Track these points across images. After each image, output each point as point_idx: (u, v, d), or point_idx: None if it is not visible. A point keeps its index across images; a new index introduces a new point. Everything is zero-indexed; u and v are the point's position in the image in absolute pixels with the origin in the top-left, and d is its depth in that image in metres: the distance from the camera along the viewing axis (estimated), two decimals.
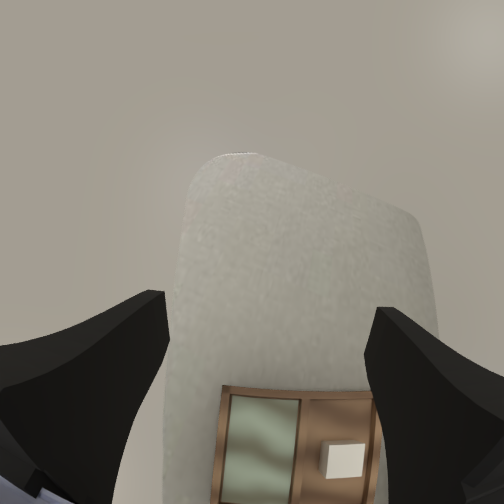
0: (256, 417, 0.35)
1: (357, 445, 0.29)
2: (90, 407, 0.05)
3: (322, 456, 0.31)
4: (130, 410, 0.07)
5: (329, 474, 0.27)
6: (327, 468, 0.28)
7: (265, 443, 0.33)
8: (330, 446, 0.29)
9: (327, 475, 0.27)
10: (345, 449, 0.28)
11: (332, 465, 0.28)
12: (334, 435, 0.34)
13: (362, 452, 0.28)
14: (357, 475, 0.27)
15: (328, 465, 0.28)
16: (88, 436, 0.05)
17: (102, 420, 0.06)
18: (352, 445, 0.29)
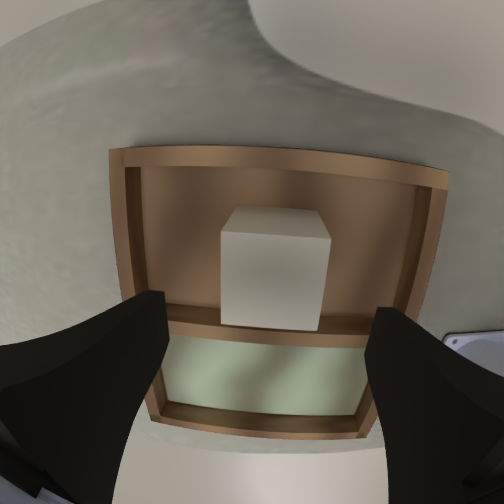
0: (195, 378, 0.22)
1: (225, 254, 0.13)
2: (90, 407, 0.05)
3: None
4: (130, 410, 0.07)
5: (306, 323, 0.13)
6: (287, 327, 0.14)
7: (242, 369, 0.21)
8: (224, 321, 0.14)
9: (308, 327, 0.13)
10: (236, 287, 0.13)
11: (279, 318, 0.13)
12: None
13: (249, 238, 0.12)
14: (325, 251, 0.12)
15: (278, 326, 0.14)
16: (88, 436, 0.05)
17: (102, 420, 0.06)
18: (224, 268, 0.13)
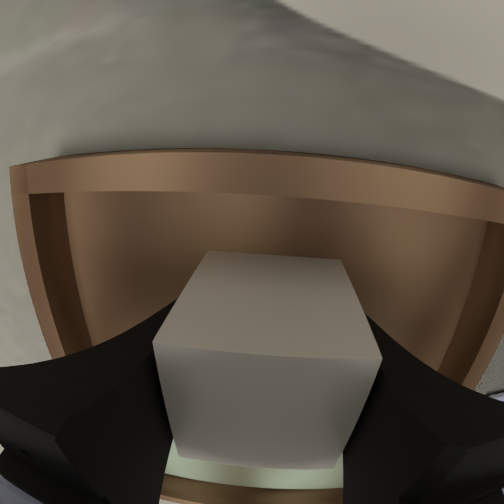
0: (169, 453, 0.15)
1: (167, 378, 0.06)
2: (143, 422, 0.05)
3: None
4: None
5: (316, 463, 0.07)
6: (286, 466, 0.07)
7: None
8: (183, 455, 0.07)
9: (319, 467, 0.07)
10: (195, 423, 0.06)
11: (273, 459, 0.07)
12: None
13: (211, 358, 0.05)
14: (366, 379, 0.05)
15: (271, 466, 0.07)
16: (141, 453, 0.05)
17: (152, 434, 0.06)
18: (169, 397, 0.06)
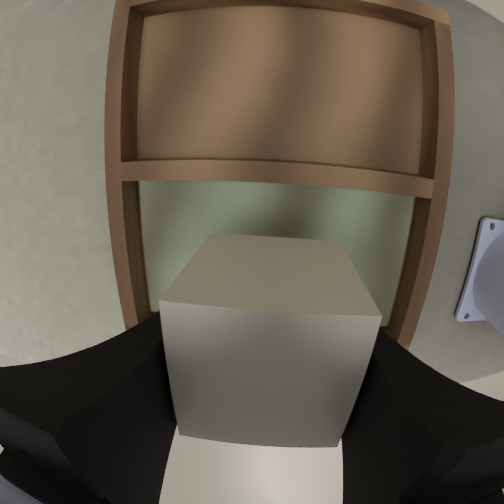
0: None
1: (171, 341, 0.06)
2: (143, 422, 0.05)
3: None
4: (173, 420, 0.07)
5: (320, 440, 0.07)
6: (289, 443, 0.07)
7: None
8: (184, 432, 0.07)
9: (322, 444, 0.07)
10: (197, 393, 0.07)
11: (275, 435, 0.07)
12: (226, 85, 0.14)
13: (216, 317, 0.06)
14: (368, 339, 0.06)
15: (274, 443, 0.07)
16: (141, 453, 0.05)
17: (152, 434, 0.06)
18: (172, 363, 0.06)
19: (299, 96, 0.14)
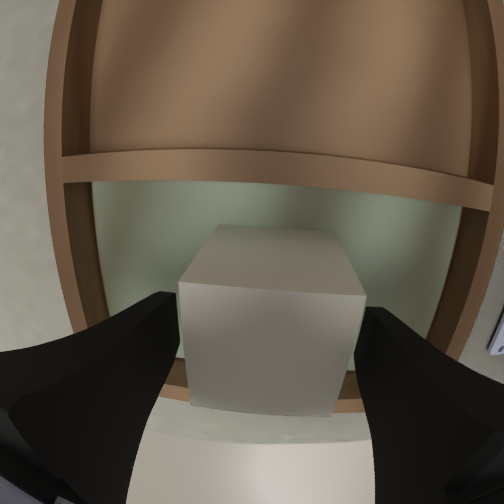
0: None
1: (188, 317, 0.07)
2: (105, 412, 0.05)
3: None
4: (142, 414, 0.07)
5: (315, 409, 0.08)
6: (288, 412, 0.08)
7: None
8: (195, 403, 0.09)
9: (318, 413, 0.08)
10: (208, 364, 0.08)
11: (276, 403, 0.08)
12: (207, 47, 0.09)
13: (227, 295, 0.07)
14: (355, 315, 0.07)
15: (275, 412, 0.08)
16: (103, 441, 0.05)
17: (116, 424, 0.06)
18: (187, 337, 0.08)
19: (310, 62, 0.09)
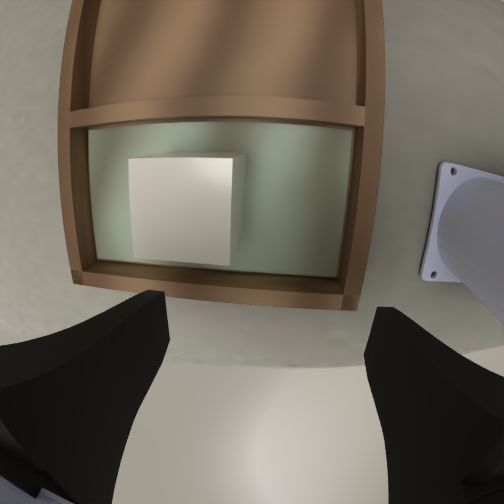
0: (125, 211, 0.18)
1: (132, 181, 0.12)
2: (90, 407, 0.05)
3: None
4: (130, 410, 0.07)
5: (216, 256, 0.13)
6: (198, 261, 0.13)
7: None
8: (136, 255, 0.13)
9: (219, 261, 0.13)
10: (144, 215, 0.12)
11: (188, 250, 0.13)
12: (164, 41, 0.14)
13: (153, 163, 0.12)
14: (227, 172, 0.11)
15: (188, 259, 0.13)
16: (88, 436, 0.05)
17: (102, 420, 0.06)
18: (132, 196, 0.12)
19: (228, 43, 0.14)
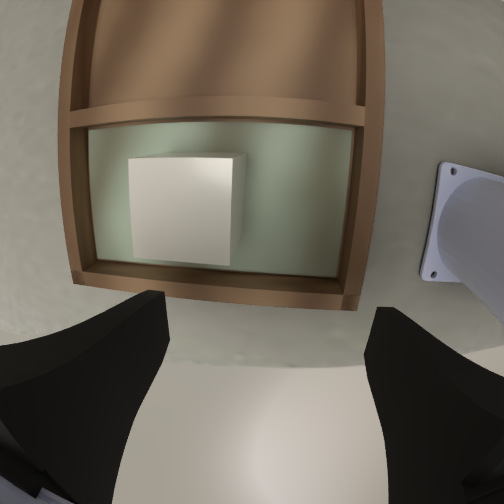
0: (125, 211, 0.18)
1: (132, 181, 0.12)
2: (90, 407, 0.05)
3: None
4: (130, 410, 0.07)
5: (216, 256, 0.13)
6: (198, 261, 0.13)
7: None
8: (136, 255, 0.13)
9: (219, 261, 0.13)
10: (144, 215, 0.12)
11: (188, 250, 0.13)
12: (164, 41, 0.14)
13: (153, 163, 0.12)
14: (227, 172, 0.11)
15: (188, 259, 0.13)
16: (88, 436, 0.05)
17: (102, 420, 0.06)
18: (132, 196, 0.12)
19: (228, 43, 0.14)
